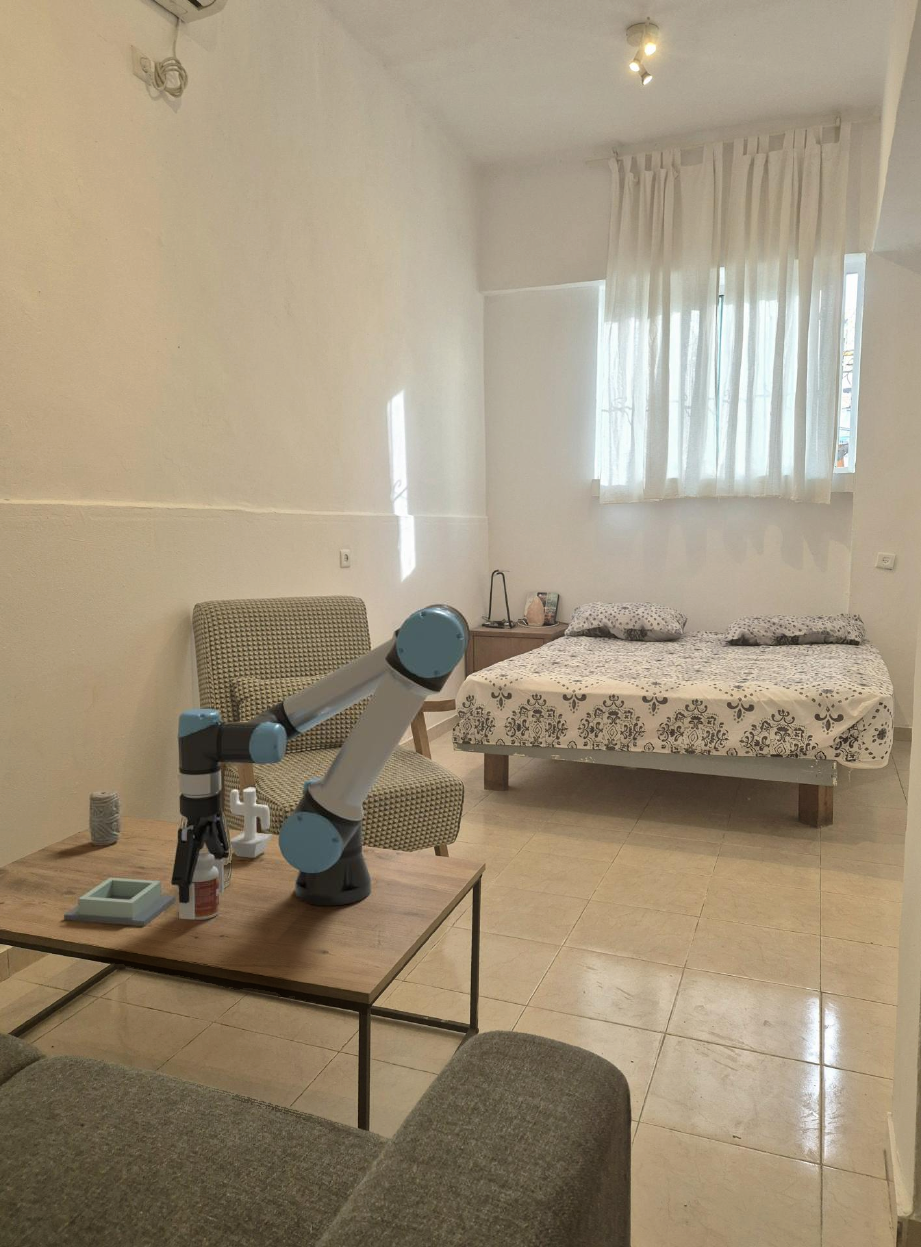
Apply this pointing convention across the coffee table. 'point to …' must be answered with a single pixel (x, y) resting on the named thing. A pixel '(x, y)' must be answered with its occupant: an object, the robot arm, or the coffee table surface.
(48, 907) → the coffee table surface
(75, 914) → the bottle holder
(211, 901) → the pill bottle
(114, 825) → the carving
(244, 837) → the figurine
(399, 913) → the coffee table surface
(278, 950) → the coffee table surface
